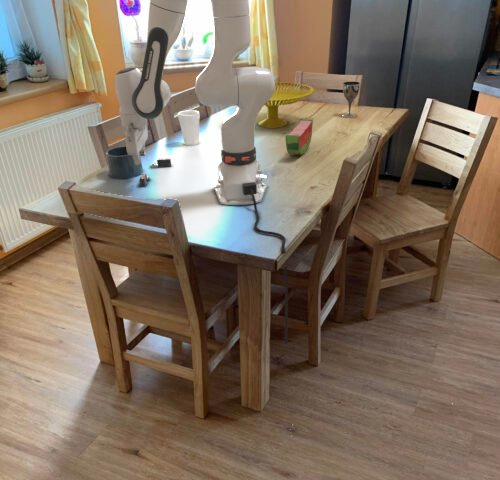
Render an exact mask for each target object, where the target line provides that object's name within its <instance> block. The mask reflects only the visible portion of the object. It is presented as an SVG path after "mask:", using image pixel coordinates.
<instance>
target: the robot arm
mask: <svg viewBox="0 0 500 480" xmlns="http://www.w3.org/2000/svg"><path fill="white" fill-rule="evenodd" d="M188 2H189V0H150V1H149V7H148V9H149V10H148V21H147V22H148V23H147V36H146V47H145V52H144V58H143V64H142V68H141V69H142V70H141V71H140V70H139V69H138V68H136V67H127V68H123V69H120V70H119V71H118V72H116V74H115V76H114V89H115V94H116V95H115V96H116V100H117V102H118V105H119V110H118V111H119V117H120V123H121V127H122V128H124V129H125V130H126V131H125V132H124V140H125V146H126V149H127V153H128V155H132V157H133V159H134V162H135V165H139V164H140V158H139V152H140V156H141V157H145V156H146V142H147V140H148V138H149V128H148V120H153V119H156V118H158V117H159V116H160V115H161V114H162V111H163V110H164V109H165V107H166V106H167V105H168V104H169V102H170V101H171V99H172V90H171V87H170V85H169V83H168V82H167V81H165V80H164V79H163V74H164V70H165V65H166V60H167V57H168V54H169V52H170V51H171V49H172V47H173V46H174V44H176V42H177V41H178V39H179V38H180V35H181V33H182V31H183V28H184V24H185V21H186V20H185V19H186V13H187V10H188V9H187V8H188ZM249 2H250V1H249V0H210V3H211V8H212V9H211V10H212V11H211V12H212V24H213V25H212V26H213V49H212V54H211V56H210V59H209V61H208V63H207V65H206V66H205V68H204V69H203V70H202V71H201V72H200V73H199V74H198V75H197V77H196V80H195V82H194V83H195V84H194V92H195V95H196V98H197V100H198V102H199V103H200V104H201V105H202V106H205V107H212V108H225V107H226V108H227V107H236V106H237V108H236V111H235V112H234V113H233V114H232V115H230V116H229V117H227V118H226V119H225V120H224V121H223V123H222V124H221V127H220V135H221V150H220V157H221V162H220V163H219V165H218V167H217V168H218V180H217V182H218V184H217V185H214V187H213V190H214V192H215V195H216V197H217V199H218V202H219V204H221V205H224V206H225V205H226V206H245V205H246V206H247V205H253V209H254V212H255V216H256V220H255V222H254V225H253V228H254V230H255V231H256V232H258V233H261V234H266V235H272V236H277V237H279V238H281V239H282V242H281V252H282V254H286V241H287V239H286V237H285V236H284V235H283V234H282V233H278V232H275V231H268V230H263V229H260V228H259V227H257V226H258V224H259V222H260V214H259V210H258V206H257V204H258V203H261V202H262V200H263V197H264V195H265V193H266V190H267V183H265V182H263V178H264V179H267V175H265V174H262V169H261V163H260V162H259V161H258V160H257V149H256V146H255V128H256V122H257V118H258V116H259V114H260V112H261V110H262V109H263V108H264V107H265V103H266V102H268V101H269V100H270V99H271V97H272V95H273V93H274V90H275V83H276V81H275V77H274V74H273V72H272V71H271V70H270V68H267V67H261V66H243V67H241V66H240V67H234V66H233V63H234V61H235V59H236V58H238V57H239V56H240V55H242V54H244V53H245V52H246V51H247V50H248V49H249V47H250V44H251V20H250V19H251V17H250V4H249ZM283 271H284V272H283V273H284V300H285V301H284V306H285V307H284V311H285V312H284V344H286V345H287V344H289V343H288V339H289V338H288V333H289V331H288V330H289V282H288V266H284V267H283Z"/></svg>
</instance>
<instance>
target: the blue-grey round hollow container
mask: <svg viewBox="0 0 500 480" xmlns="http://www.w3.org/2000/svg"><path fill="white" fill-rule="evenodd" d="M105 158H106V162H107V167H108V174H109V176H110V177H111V178H113V179H120V180H124V179H132V178H135V177H138V176H141V174H144V173H143V172H144V169H143V164H142V156H140V152H139V158H140V164H139V165H135V162H134V159H133V157H132V155H128V153H127V149H126V145H125V146H122V145H121V146H116V147H112V148H110V149H108V150H106V151H105Z"/></svg>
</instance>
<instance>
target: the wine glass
mask: <svg viewBox="0 0 500 480" xmlns="http://www.w3.org/2000/svg"><path fill="white" fill-rule="evenodd" d="M360 85H361V83H360V82H359V81H345V82H343V83H342V93H343V97H344V99H345V100H346V102H347V103H348V112H347V113H344V114H342V115H341V116H342V117H343V118H355V117H357V115H356V113H355V114H354V113H351V108H352V104H353V102H354V101H355V99H356V98H357V97H358V95H359V92H360V88H361V87H360Z"/></svg>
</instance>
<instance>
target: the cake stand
mask: <svg viewBox="0 0 500 480" xmlns="http://www.w3.org/2000/svg"><path fill="white" fill-rule="evenodd" d="M314 93H315V88H314V87H313V86H311V85H307V84H304V83H303V84H302V83H296V82H285V81H284V82H276V81H275V90H274V93H273V95H272V97H271V99H270V100H269V101H268V102H266V103H265V105H264V107H266V109H267V117H266V118H265V119H263V120H261V121H260V122H258V125H259V127H262V128H269V129H270V128H271V129H273V128H281V127H284V126H287V125H288V122H287V120H284V119H282V118H280V117H279V107H281V106H286V105H291V104H295V103H298V102H300V101H302V100H303V99H306V98H307V97H309V96H311V95H313V94H314Z"/></svg>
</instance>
